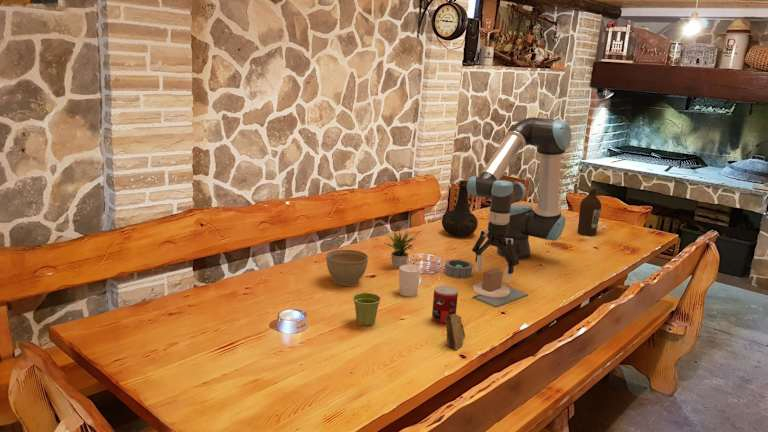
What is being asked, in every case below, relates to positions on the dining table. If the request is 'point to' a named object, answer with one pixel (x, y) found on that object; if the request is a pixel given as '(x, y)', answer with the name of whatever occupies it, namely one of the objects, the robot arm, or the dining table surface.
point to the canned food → (444, 303)
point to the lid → (492, 285)
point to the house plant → (400, 249)
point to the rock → (454, 331)
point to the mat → (501, 301)
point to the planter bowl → (346, 266)
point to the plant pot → (366, 308)
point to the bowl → (458, 268)
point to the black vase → (460, 216)
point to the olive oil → (589, 214)
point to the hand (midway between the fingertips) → (492, 276)
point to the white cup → (409, 280)
